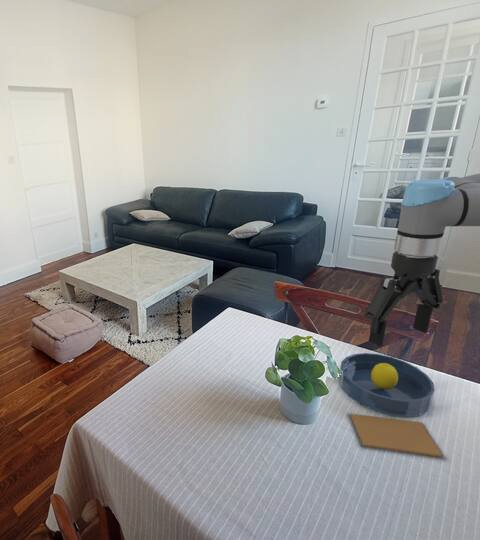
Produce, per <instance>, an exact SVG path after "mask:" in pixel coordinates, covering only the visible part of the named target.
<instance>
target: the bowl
mask: <svg viewBox="0 0 480 540" xmlns="http://www.w3.org/2000/svg"><path fill="white" fill-rule="evenodd" d="M380 363H387V364H389V365H391V366H393V367H394V368H395V369H396V371H397V373H398V382H397V384H396V386H395V387H394V388H392V389H389V390H384V389H383V390H382V389H380V388H378V387H377V386H376V385H375V384H374V383H373V382H372V379H371V372H372V370H373V368H374V367H375V366H376V365H377V364H380ZM339 368H340V369H341V370H342V371H343V374H342V375H340V374H339V376H338V383H339V386H340V388H341V390H342V391H343V392H344V393H345V394H346V395H347V396H348V397H349V398H350V399H351V400H353V401H355V402H356V403H358V404H359V405H361V406H363V407H365V408H368V409H369V410H372V411H374V412H378V413H380V414H384V415H385V414H386V415H387V416H395V417H402V418H407V417H417V416H421V415H422V414H425V413H427V412H428V411H429V409H430V408H431V406H432V403H433V400H434V396H435V392H436V389H435V383H434V382H433V381H432V379H431V378H430V377H429V376H428V374H427V373H426V372H424V371H422V370H421V369H420V368H418V367H417V366H416V365H413V364H411V363H409V362H408V361H405V360H401V359H399V358H396V357H393V356H389V355H385V354H380V353H372V352H371V353H370V352H369V353H368V352H359V353H354V354H351V355H348V356H346V357H345V358H343V359H342V360H341V361H340V367H339ZM340 369H339V370H340Z"/></svg>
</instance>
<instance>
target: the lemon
mask: <svg viewBox="0 0 480 540" xmlns="http://www.w3.org/2000/svg"><path fill="white" fill-rule="evenodd" d="M371 379H372V382H373V383H374V384H375V385H376V386H377V387H378V388H380V389H382V390H383V389H384V390H389V389H392V388H394V387H395V386H396V384H397V382H398V373H397V371H396V369H395V368H394V367H393V366H391V365H389V364H387V363H380V364H377V365H376V366H375V367H374V368H373V370H372V372H371Z"/></svg>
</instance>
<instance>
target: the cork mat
mask: <svg viewBox="0 0 480 540" xmlns="http://www.w3.org/2000/svg"><path fill="white" fill-rule="evenodd" d="M350 417H351V419H352V422H353V424H354V427H355V429H356V431H357V434H358V436H359V439H360V441H361V444H362V446H363V447H369V448H376V449H383V450H389V451H396V452H402V453H410V454H416V455H424V456H430V457H438V458H442V457H443V454H442V452H441V451H440V449H439V447H438V446H437V445H436V443H435V441H434V440H433V439H432V437H431V436H430V433H429V432H428V431H427V429H426V428H425V426H424V425H423V423H422V422H420V421H412V420H404V419H396V418H387V417H379V416H371V415H362V414H354V413H351V414H350Z"/></svg>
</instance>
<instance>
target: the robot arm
mask: <svg viewBox="0 0 480 540" xmlns="http://www.w3.org/2000/svg"><path fill="white" fill-rule="evenodd" d="M446 227H480V173H474V174H470V175H467V176H462V177H458V176H446V177H442V178H439V179H438V178H437V179H429V178H428V179H417V180H414V181H411V182H409V183H408V184H407V185H406V187H405V190H404V193H403V195H402V200H401V203H400V213H399V220H398V225H397V230H396V237H395V242H394V247H393V249H394V252H393V253H392V257H391V261H390V267H391V269H392V270H393V271H394V274H393V276H392V277H391V278H390V277H389V278H388V277H386V276H383V277H382V278H381V279H380V283H379V287H378V289H377V290H376V292H375V294H374V296H373V298H372V300H370V303H369V305H368V306H367V308H366V310H365V312H364V313H363V317H365V318H367V319H369V320H370V326H369V331H370V332H369V337H368V341H369V342H371V343H372V344H374V345H376V346H378V347H382V346H383V344H384V339H385V334H386V329H387V323H388V321H387V320H386V318H387V317H388V316H389V315H390V313H391V312H392V310H393V309H394V308H395V307H396V305H397V304H398V303H399V302H400V300H401V299H405V298H406V297H407V295H410V294H412V293H415V295H416V296H417V298H418V300H419V301H420V302H421V303H418V304H417V309H416V313H415V317H414V322H413V325H412V329H415V330H417V331H419V332H421V333H424V334H427V333H428V331H429V326H430V322H431V319H432V315H433V310H434V309H436V310H438V309H440V308H441V304H442V303H443V302H444V298H443V292H442V287H441V281H440V274H441V273H440V272H441V270H440V269H437V265H438V259H439V257H438V255H439V254H440V251H441V248H442V243H443V238H444V234H445V230H446Z"/></svg>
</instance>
